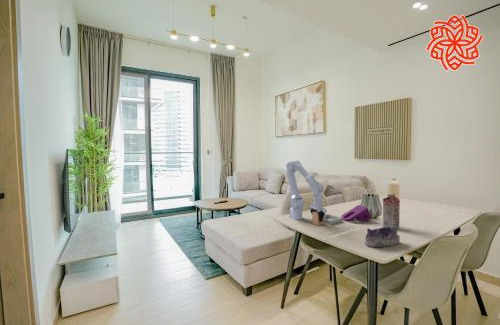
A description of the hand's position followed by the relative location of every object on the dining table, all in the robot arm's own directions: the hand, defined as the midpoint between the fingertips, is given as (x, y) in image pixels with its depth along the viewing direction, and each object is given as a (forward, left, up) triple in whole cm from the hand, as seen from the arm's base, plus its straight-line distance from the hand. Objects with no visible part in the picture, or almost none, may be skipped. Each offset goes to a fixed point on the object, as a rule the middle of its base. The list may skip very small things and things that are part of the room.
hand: (317, 220), depth 163 cm
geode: (+42, +6, -3) cm, 42 cm away
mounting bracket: (+7, +29, -3) cm, 30 cm away
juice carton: (+30, +36, -3) cm, 47 cm away
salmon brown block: (0, 0, -2) cm, 2 cm away
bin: (0, +11, -3) cm, 11 cm away
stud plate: (0, 0, -3) cm, 3 cm away
